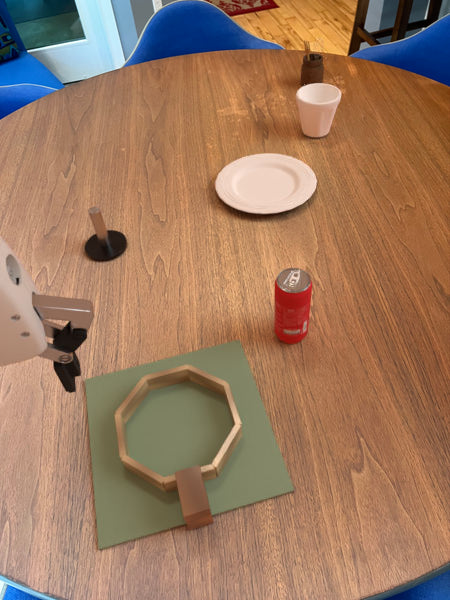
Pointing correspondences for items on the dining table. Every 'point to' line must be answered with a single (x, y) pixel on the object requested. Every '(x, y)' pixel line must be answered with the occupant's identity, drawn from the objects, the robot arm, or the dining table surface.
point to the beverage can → (292, 305)
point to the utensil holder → (312, 66)
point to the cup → (317, 108)
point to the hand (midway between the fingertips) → (13, 392)
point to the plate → (265, 183)
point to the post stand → (104, 240)
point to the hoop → (190, 478)
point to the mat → (179, 444)
